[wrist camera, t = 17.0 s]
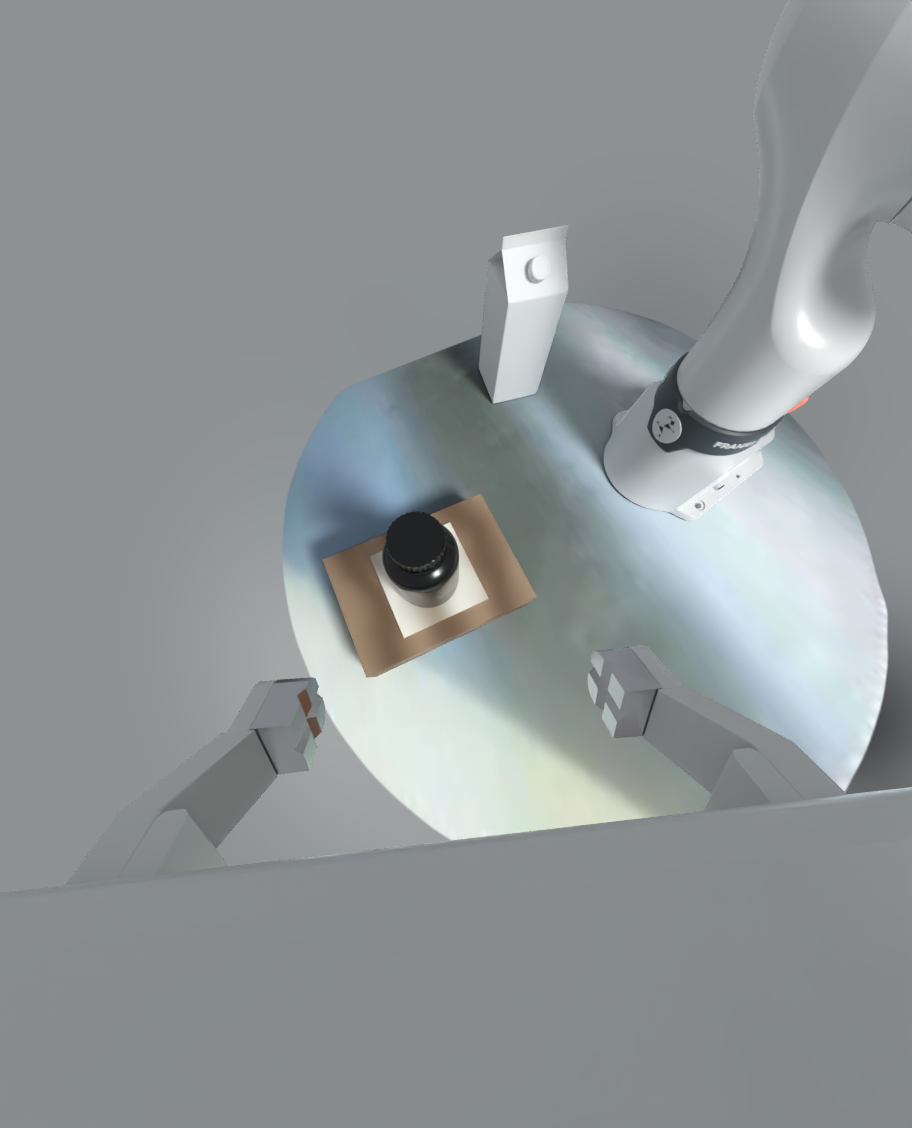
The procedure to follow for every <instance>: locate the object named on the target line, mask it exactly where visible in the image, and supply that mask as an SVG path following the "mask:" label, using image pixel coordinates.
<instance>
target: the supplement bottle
mask: <svg viewBox="0 0 912 1128" xmlns="http://www.w3.org/2000/svg"><path fill="white" fill-rule="evenodd" d="M382 561H383V566H384V569H385V571H386V573H387V575H388V577H389V578H390V580H391V581H392V583H393V584H394V585H395V587H396V588H397V589H398V591H399V592H400V594H401V595H402V596H403V597H404V598H405V599H406V600H407V601H408V602H409V603H411V604H413V605H415V606H417V607H421V608H433V607H437V606H439V605H442V604H443V603H445V602H446V601H448V600H449V599H450V598H451V597H452V595H453V594H454V592H455V591H456V588H457V585H458V580H459V549H458V545H457V542H456V540H455V538H454V536H453V535H452V533H451V532H450V531H449V530H448V529H447V528H446V527H445V526H443V525H442V524H440V523H439V520H437V519H435V517H433V516H431V515H430V514H426V513H424V512H422V513H421V512H411V513H406V514H405V515H401V516H400V517H399V518H397V519H396V520H395V521H394V522H392V525H391V526H390V527H389V530H388V531H387V536H386V542H385V544H384V547H383V552H382Z"/></svg>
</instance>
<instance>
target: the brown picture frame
mask: <svg viewBox="0 0 912 1128" xmlns="http://www.w3.org/2000/svg"><path fill="white" fill-rule="evenodd" d="M430 515H431V516H433V517H435V519H437V520H439V523H440V524H442V525H443V526H445V527H446V528H447V529H448V530H449V531H450V532H451V533H452V535H453V536H454V538H455V540H456V542H457V545H458V549H459V580H458V585H457V588H456V591H455V592H454V594H453V595H452V597H451V598H450V599H449V600H448V601H446V602H445V603H443V604H442V605H439V606H437V607H433V608H421V607H417V606H415V605H413V604H411V603H409V602H408V601H407V600H406V599H405V598H404V597H403V596H402V595H401V594H400V592H399V591H398V589H397V588H396V587H395V585H394V584H393V583H392V581H391V580H390V578H389V577H388V575H387V573H386V571H385V569H384V566H383V561H382V552H383V547H384V544H385V542H386V536H387V533H385V534H382V535H380V536H378V537H375V538H373V539H370V540H368V541H366V542H363V543H361V544H358V545H356V546H354V547H351V548H349V549H347V550H344V551H342V552H339V553H337V554H335V555H332V556H330V557H327V558H325V559H323V562H324V565H325V568H326V570H327V573H328V576H329V578H330V581H331V584H332V586H333V589H334V592H335V594H336V597H337V600H338V603H339V605H340V608H341V611H342V613H343V616H344V619H345V621H346V624H347V627H348V629H349V632H350V635H351V637H352V640H353V643H354V645H355V648H356V651H357V653H358V656H359V659H360V661H361V664H362V667H363V669H364V672H365V675H366V677H377V676H379V675H381V674H383V673H385V672H387V671H389V670H391V669H393V668H396V667H398V666H400V665H402V664H404V663H406V662H408V661H410V660H412V659H414V658H416V657H419V656H421V655H423V654H425V653H427V652H429V651H431V650H433V649H435V648H437V647H440V646H442V645H444V644H446V643H448V642H450V641H452V640H454V639H456V638H458V637H460V636H463V635H465V634H467V633H469V632H471V631H473V630H475V629H477V628H479V627H481V626H483V625H486V624H488V623H490V622H492V621H494V620H496V619H498V618H500V617H502V616H504V615H506V614H509V613H511V612H513V611H515V610H517V609H519V608H521V607H523V606H525V605H527V604H528V603H530V602H531V601H532V600H533V599H534V598H535V597H536V594H535V592H534V591H533V589H532V587H531V585H530V583H529V581H528V580H527V578H526V576H525V574H524V572H523V570H522V569H521V567H520V565H519V563H518V561H517V559H516V558H515V556H514V554H513V552H512V550H511V548H510V547H509V545H508V543H507V541H506V539H505V538H504V536H503V534H502V532H501V530H500V528H499V527H498V525H497V523H496V521H495V519H494V517H493V516H492V514H491V512H490V510H489V508H488V506H487V505H486V503H485V501H484V499H483V497H482V496H481V494H478V495H476V496H474V497H471V498H469V499H466V500H464V501H462V502H459V503H457V504H454V505H452V506H450V507H447V508H445V509H442V510H440V511H438V512H435V513H433V514H430Z"/></svg>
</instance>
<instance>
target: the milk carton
mask: <svg viewBox="0 0 912 1128" xmlns="http://www.w3.org/2000/svg"><path fill="white" fill-rule="evenodd" d="M567 230H568V225H566V226H560V227H555V228H549V229H544V230H539V231H533V232H527V233H522V234H517V235H512V236H506V237H503V242H502V250H500V251H499V252H498V253H497V254H495V255H494V256H493V257H492V258H490V259H489V260H488V271H487V282H486V293H485V305H484V316H483V326H482V337H481V348H480V359H479V370H480V373H481V375H482V378H483V380H484V383H485V385H486V388H487V390H488V393H489V395H490V398H491V400H492V402H493V403H499V402H503V401H507V400H511V399H516V398H520V397H524V396H528V395H533V394H536V393H537V390H538V387H539V384H540V380H541V377H542V374H543V371H544V367H545V364H546V361H547V358H548V354H549V351H550V348H551V345H552V341H553V338H554V335H555V332H556V328H557V325H558V322H559V319H560V315H561V312H562V309H563V306H564V302H565V299H566V296H567V292H568V275H567V258H566V241H565V238H566V234H567Z"/></svg>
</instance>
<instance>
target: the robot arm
mask: <svg viewBox="0 0 912 1128" xmlns="http://www.w3.org/2000/svg"><path fill="white" fill-rule="evenodd" d="M754 128H755V132H756V138H757V144H758V151H759V169H760V180H759V196H758V204H757V212H756V217H755V223H754V227H753V232H752V236H751V240H750V243H749V247H748V250H747V253H746V256H745V259H744V262H743V265H742V267H741V269H740V272H739V274H738V276H737V278H736V280H735V282H734V284H733V286H732V288H731V290H730V291H729V293H728V295H727V297H726V298H725V300H724V302H723V303H722V305H721V306H720V308H719V309H718V311H717V312H716V314H715V315H714V317H713V319H712V320H711V321H710V323H709V325H708V326H707V328H706V329H705V330H704V332H703V333H702V335H701V336H700V337H699V339H698V340H697V342H696V343H695V344H694V346H693V347H692V349H691V350H690V351H689V352H687V353H685V354H684V355H683V356H682V357H681V358H680V359H679V360H678V361H677V362H676V363H675V365H673V366H672V367H671V368H670V370H669V371H668V372H667V374H666V375H665V377H664V379H663V381H659V382H657V383H656V382H653V383H652V384H650V385H649V386H648V387H647V388H646V390H645V391H644V392H643V393H642V394H641V396H640V397H639V398H638V399H637V401H636V402H635V403H634V404H633V405H632V407H631V408H630V409H628V410H623V411H620V412H618V413H617V414H616V416H615V417H614V419H613V424H612V430H613V432H612V435H611V437H610V439H609V440H608V442H607V444H606V447H605V450H604V466H605V470H606V473H607V475H608V477H609V479H610V481H611V483H612V484H613V485H614V487H615V488H616V489H617V490H618V491H619V492H620V493H621V494H622V495H623V496H625V497H626V498H627V499H629V500H630V501H632V502H634V503H636V504H638V505H640V506H642V507H645V508H649V509H653V510H660V511H666V512H670V513H672V514H674V515H676V516H678V517H680V518H682V519H684V520H687V521H693V520H695V519H697V518H698V517H699V516H701V515H702V514H703V513H704V512H706V511H707V510H708V509H709V508H711V507H712V506H713V505H714V504H716V503H717V502H718V501H719V500H721V499H722V498H723V497H724V496H726V495H727V494H728V493H729V492H731V491H732V490H733V489H734V488H736V487H737V486H738V485H740V484H741V483H742V482H743V481H745V480H746V479H747V478H748V477H750V476H751V475H752V474H753V473H755V472H756V471H757V470H758V469H759V468H761V467H762V465H763V458H762V454H761V451H760V449H761V448H762V447H763V446H765V445H766V444H768V443H769V442H770V441H772V440H773V438H774V428H775V427H776V426H777V424H778V423H779V422H780V421H781V420H782V418H783V416H784V414H786V413H789V412H791V411H793V410H795V409H797V408H798V407H800V406H801V405H803V404H804V403H805V402H806V401H807V400H808V399H809V398H808V396H809V395H810V394H812V393H813V392H814V391H815V390H817V389H818V388H819V387H821V386H822V385H823V384H824V383H826V382H827V381H828V380H830V379H831V378H832V377H834V376H835V375H836V374H838V373H839V372H840V371H841V370H843V369H844V368H845V367H847V366H848V365H849V364H850V363H851V362H852V361H853V360H854V359H855V358H856V357H857V355H858V354H859V353H860V352H861V350H862V349H863V348H864V346H865V344H866V343H867V341H868V339H869V337H870V334H871V332H872V329H873V325H874V320H875V311H876V299H875V293H874V289H873V285H872V282H871V279H870V276H869V273H868V269H867V262H866V254H867V247H868V242H869V238H870V236H871V233H872V230H873V228H874V226H875V224H876V222H885V223H890V222H891V221H892V220H893V219H895V220H894V221H893V222H892V223H894V224H896V225H898V226H900V227H902V228H904V229H906V230H907V231H910V232H911V233H912V0H788V1H787V3H786V5H785V7H784V9H783V11H782V14H781V16H780V18H779V21H778V23H777V25H776V28H775V30H774V32H773V35H772V37H771V40H770V43H769V46H768V48H767V51H766V55H765V58H764V61H763V64H762V67H761V72H760V76H759V80H758V84H757V90H756V96H755V104H754ZM695 506H696V507H697V508H696V507H695ZM591 662H592V664H593V666H594V667H593V668H592V669H591V670H590V671H589V674H588V687H589V692H590V695H591V697H592V699H593V701H594V703H595V705H597V706H598V707H599V708H601V709H602V710H603V715H602V719H603V720H604V722H605V724H606V726H607V728H608V730H609V732H610V733H611V735H612V737H613V738H625V737H638V736H644V737H643V738H644V739H645V740H647V741H648V742H649V743H650V744H652V745H653V746H654V747H655V748H656V749H658V750H659V751H660V752H661V753H663V754H664V755H665V756H666V757H667V758H669V759H670V760H671V761H672V762H674V763H675V764H676V765H677V766H678V767H680V768H681V769H682V770H683V771H685V772H686V773H687V774H688V775H689V776H691V777H692V778H693V779H694V780H696V781H697V782H698V783H699V784H700V785H702V786H703V787H704V788H705V789H706V790H708V791H709V792H710V793H711V795H710V797H709V799H708V801H707V803H706V805H705V807H704V810H703V811H702V812H694V813H685V814H677V815H668V816H659V817H651V818H642V819H633V820H625V821H616V822H607V823H599V824H590V825H581V826H573V827H564V828H555V829H547V830H538V831H529V832H520V833H512V834H503V835H494V836H486V837H477V838H469V839H460V840H452V841H443V842H434V843H426V844H418V845H409V846H400V847H392V848H384V849H374V850H366V851H357V852H349V853H340V854H331V855H323V856H314V857H305V858H297V859H288V860H279V861H271V862H262V863H254V864H245V865H237V866H228V864H227V862H226V861H225V860H224V858H223V857H222V856H221V854H220V853H219V852H218V851H217V849H216V848H217V847H218V846H219V845H220V844H221V842H222V841H223V840H224V839H225V838H226V836H227V835H228V834H229V833H230V832H231V831H232V829H233V828H234V827H235V826H236V825H237V823H238V822H239V821H240V820H241V819H242V818H243V816H244V815H245V814H246V813H247V812H248V811H249V809H250V808H251V807H252V806H253V805H254V804H255V802H256V801H257V800H258V799H259V798H260V797H261V795H262V794H263V793H264V792H265V791H266V789H267V788H268V787H269V786H270V785H271V784H272V782H273V781H274V780H275V779H276V778H277V775H278V774H285V773H292V772H300V771H308V770H310V768H311V765H312V761H313V758H314V755H315V752H316V749H317V745H316V743H315V740H314V739H315V738H316V737H317V736H318V735H319V734H320V733H321V732H322V729H323V725H324V720H325V706H324V701H323V698H322V697H320V696H319V695H318V694H316V693H317V690H318V687H319V686H318V684H317V681H316V679H315V678H298V679H284V680H275V681H260V682H258V683H257V684H256V685H255V686H254V687H253V689H252V691H251V692H250V694H249V696H248V698H247V699H246V701H245V703H244V704H243V706H242V708H241V710H240V711H239V713H238V715H237V716H236V718H235V720H234V722H233V724H232V725H231V727H230V729H229V730H228V732H226V733H221V734H220V735H218V736H217V737H216V738H214V739H213V740H212V741H211V742H209V743H208V744H207V745H205V746H204V747H203V748H202V749H200V750H199V751H198V752H197V753H195V754H194V755H193V756H191V757H190V758H189V759H187V760H186V761H185V762H184V763H182V764H181V765H180V766H178V767H177V768H176V769H175V770H173V771H172V772H171V773H169V774H168V775H167V776H166V777H164V778H163V779H162V780H160V781H159V782H158V783H157V784H155V785H154V786H153V787H151V788H150V789H149V790H148V791H146V792H145V793H144V794H142V795H141V796H140V797H138V798H137V799H136V800H135V801H133V802H132V803H131V804H130V805H128V806H127V807H126V808H125V809H123V810H122V811H120V812H119V813H118V814H117V815H116V816H115V818H114V819H113V821H112V822H111V823H110V825H109V826H108V827H107V829H106V830H105V831H104V833H103V834H102V836H101V837H100V838H99V840H98V841H97V842H96V844H95V845H94V846H93V848H92V849H91V851H90V852H89V853H88V855H87V856H86V857H85V859H84V860H83V862H82V863H81V864H80V866H79V867H78V868H77V870H76V871H75V873H74V874H73V875H72V877H71V878H70V879H69V881H68V882H67V884H66V885H63V886H54V887H45V888H37V889H28V890H19V891H10V892H2V893H0V1128H912V787H910V788H901V789H892V790H883V791H875V792H866V793H857V794H849V795H847V794H846V793H845V792H844V791H843V790H842V789H841V788H840V787H839V786H838V785H837V784H836V783H835V782H834V781H833V780H832V779H831V778H830V777H829V776H828V775H827V774H826V773H825V772H824V771H823V770H822V769H820V768H819V767H818V766H817V765H816V764H815V763H814V762H813V761H812V760H811V759H810V758H809V757H808V756H807V755H806V754H805V753H804V752H803V751H802V750H801V749H800V748H799V747H798V746H797V745H796V744H795V743H794V742H792V741H790V740H789V739H787V738H785V737H783V736H781V735H779V734H777V733H775V732H773V731H771V730H769V729H768V728H766V727H764V726H762V725H760V724H758V723H756V722H754V721H752V720H750V719H749V718H747V717H745V716H743V715H741V714H739V713H737V712H735V711H733V710H731V709H730V708H728V707H726V706H724V705H722V704H720V703H718V702H716V701H714V700H712V699H710V698H709V697H707V696H705V695H703V694H701V693H699V692H697V691H695V690H693V689H691V688H690V687H682V686H681V685H680V683H679V682H678V681H677V680H676V679H675V678H674V676H673V675H672V674H671V673H670V672H669V671H668V669H667V668H666V667H665V666H664V665H663V664H662V662H661V661H660V660H659V659H658V658H657V657H656V655H655V654H654V653H653V652H652V651H651V650H650V649H649V648H648V647H647V646H645V645H644V646H634V647H627V648H616V649H606V650H597V651H594V652H593V653H592V657H591Z"/></svg>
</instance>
